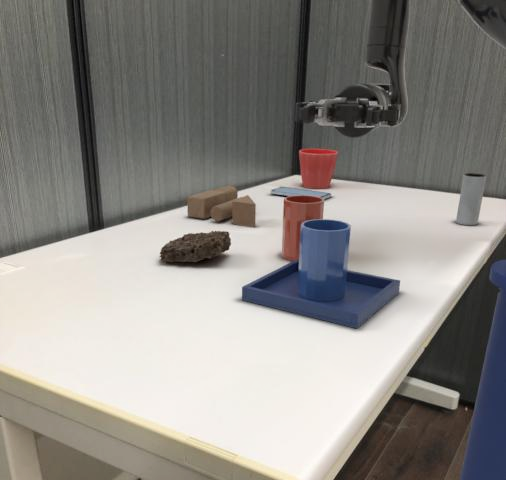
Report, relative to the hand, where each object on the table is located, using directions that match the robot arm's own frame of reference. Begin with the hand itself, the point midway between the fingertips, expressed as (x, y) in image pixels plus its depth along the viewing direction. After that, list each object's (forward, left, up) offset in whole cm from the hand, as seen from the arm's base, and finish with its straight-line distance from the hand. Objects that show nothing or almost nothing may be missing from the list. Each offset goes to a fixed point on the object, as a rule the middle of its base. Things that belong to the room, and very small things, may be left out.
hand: (336, 116), depth 75 cm
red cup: (+11, -14, -24) cm, 30 cm away
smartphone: (+37, -62, -24) cm, 76 cm away
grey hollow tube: (-7, -57, -25) cm, 62 cm away
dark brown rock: (+25, -2, -25) cm, 35 cm away
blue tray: (-1, +2, -24) cm, 25 cm away
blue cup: (0, +2, -24) cm, 24 cm away
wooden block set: (+38, -34, -25) cm, 57 cm away
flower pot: (+40, -77, -25) cm, 90 cm away
